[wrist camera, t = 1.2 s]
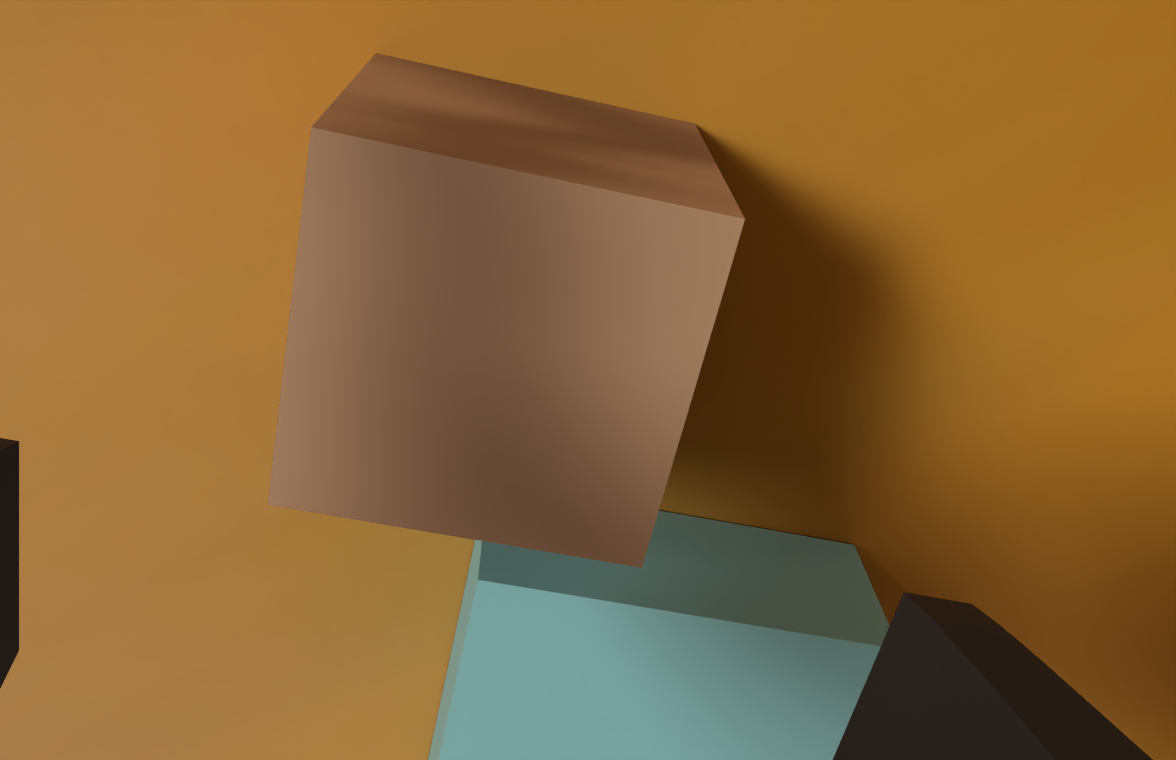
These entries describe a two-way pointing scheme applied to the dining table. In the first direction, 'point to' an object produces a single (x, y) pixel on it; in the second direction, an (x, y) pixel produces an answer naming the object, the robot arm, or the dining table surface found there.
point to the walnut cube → (497, 311)
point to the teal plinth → (661, 650)
